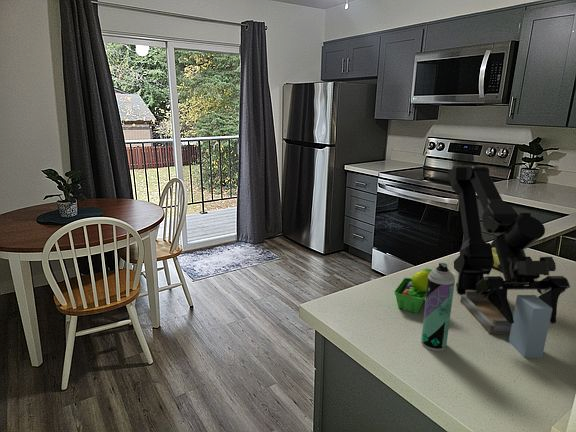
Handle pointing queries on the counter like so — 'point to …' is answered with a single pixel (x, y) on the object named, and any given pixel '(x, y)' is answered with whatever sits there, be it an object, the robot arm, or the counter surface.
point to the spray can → (437, 308)
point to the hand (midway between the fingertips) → (532, 323)
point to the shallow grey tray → (486, 313)
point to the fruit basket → (412, 291)
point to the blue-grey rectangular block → (530, 326)
